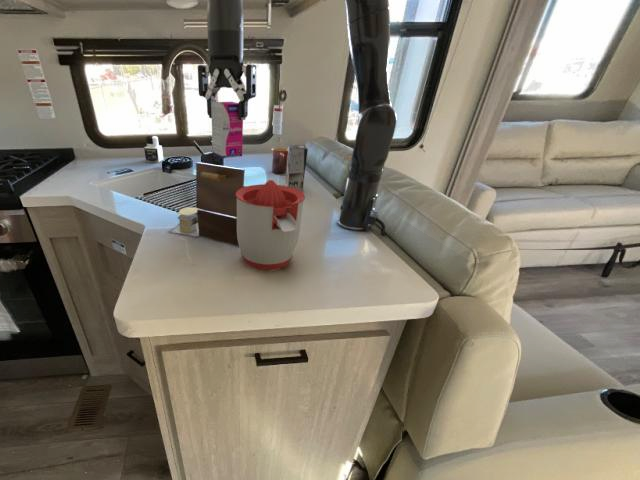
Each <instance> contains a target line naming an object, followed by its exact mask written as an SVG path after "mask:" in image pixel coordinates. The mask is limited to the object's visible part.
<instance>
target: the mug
mask: <svg viewBox="0 0 640 480" xmlns="http://www.w3.org/2000/svg"><path fill="white" fill-rule="evenodd" d="M288 149H289V147H283V146H278V147H277V146H276V147H275V146H274V147H272V148H271V154H272V158H271V171H272V172H273V173H274V174H285V173H287V160H288Z"/></svg>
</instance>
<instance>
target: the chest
mask: <svg viewBox="0 0 640 480" xmlns="http://www.w3.org/2000/svg"><path fill="white" fill-rule="evenodd" d="M197 213H198V228H199V235H198V236H199V237H203V238H208V239H211V240H214V241H219V242H222V243H225V244H230V245H234V246H237V247H239V245H238V239H237V217H233V216H229V215H224V214H220V213H215V212H211V211H206V210H202V209H198V210H197Z"/></svg>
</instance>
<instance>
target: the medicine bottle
mask: <svg viewBox="0 0 640 480" xmlns="http://www.w3.org/2000/svg"><path fill="white" fill-rule="evenodd" d="M145 141H146V146H144V147H143V149H144V158H145V162H146V163H156V164H158V163H161V162H162V161H164V151H163V145H160V144H159V137H158V136H156V135H148V136H146V137H145Z"/></svg>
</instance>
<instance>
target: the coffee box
mask: <svg viewBox="0 0 640 480" xmlns="http://www.w3.org/2000/svg"><path fill="white" fill-rule="evenodd" d="M288 148H289V149H288V160H287V171H286V172H285V173H286V174H285V184H284V186H288V187H292V188H295V189H298V190H300V191H301V192H303V191H304V183H305V176H306V175H305V174H306V168H307V158H308V150H309V148H308V147H307V146H306V145H305V144H288Z"/></svg>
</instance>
